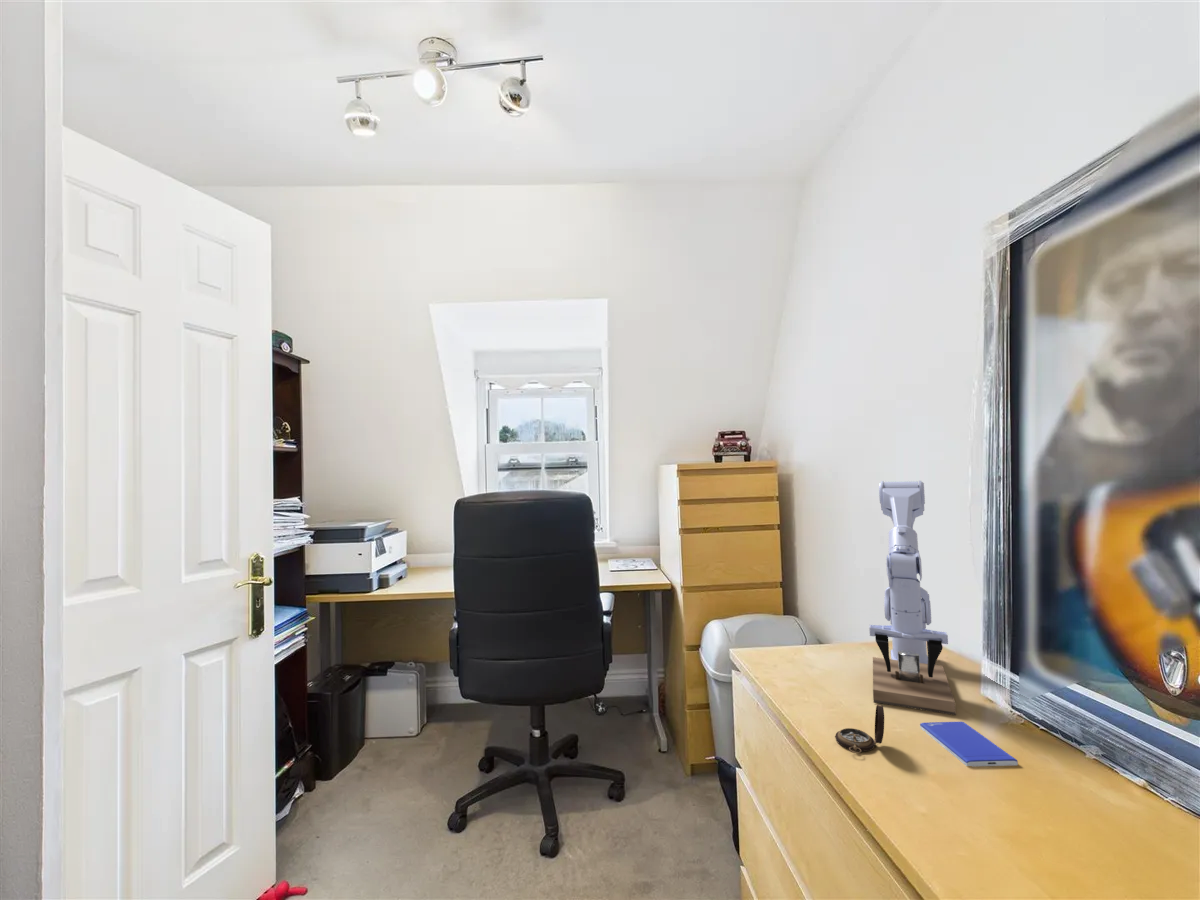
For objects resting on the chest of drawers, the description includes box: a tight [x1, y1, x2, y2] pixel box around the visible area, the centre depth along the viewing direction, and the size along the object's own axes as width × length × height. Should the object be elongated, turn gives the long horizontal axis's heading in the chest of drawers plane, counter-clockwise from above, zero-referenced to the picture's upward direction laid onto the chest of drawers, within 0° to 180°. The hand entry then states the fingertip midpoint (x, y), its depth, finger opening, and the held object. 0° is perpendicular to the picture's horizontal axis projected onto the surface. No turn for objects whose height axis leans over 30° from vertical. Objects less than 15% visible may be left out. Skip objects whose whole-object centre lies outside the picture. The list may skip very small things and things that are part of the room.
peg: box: [898, 650, 921, 683], centre depth 112 cm, size 4×4×7 cm
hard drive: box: [919, 721, 1019, 767], centre depth 90 cm, size 2×8×12 cm
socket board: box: [872, 656, 957, 716], centre depth 112 cm, size 20×14×2 cm
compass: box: [834, 703, 885, 754], centre depth 90 cm, size 8×8×7 cm
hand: (909, 672), depth 112 cm, fingers open, 7 cm apart
